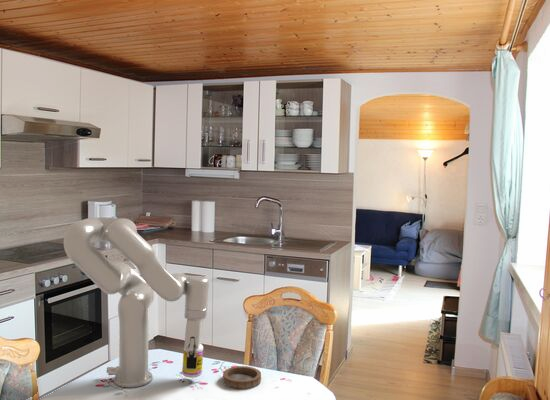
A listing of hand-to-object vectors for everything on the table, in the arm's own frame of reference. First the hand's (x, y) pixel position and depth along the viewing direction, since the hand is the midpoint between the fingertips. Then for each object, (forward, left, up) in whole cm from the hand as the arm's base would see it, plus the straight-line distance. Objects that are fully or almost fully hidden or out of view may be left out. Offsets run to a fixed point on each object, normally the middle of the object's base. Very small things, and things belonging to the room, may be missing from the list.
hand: (192, 363), depth 171 cm
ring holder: (+17, +1, -6) cm, 18 cm away
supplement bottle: (0, 0, -4) cm, 4 cm away
